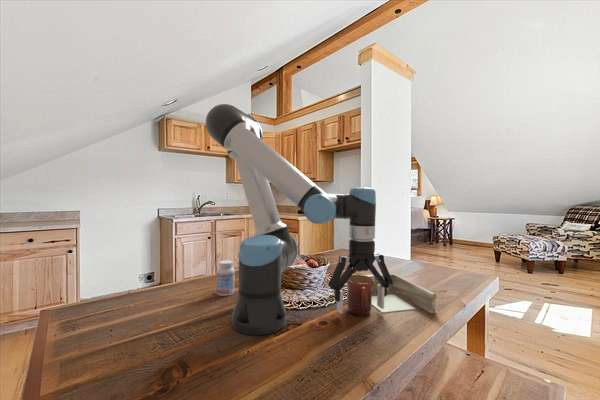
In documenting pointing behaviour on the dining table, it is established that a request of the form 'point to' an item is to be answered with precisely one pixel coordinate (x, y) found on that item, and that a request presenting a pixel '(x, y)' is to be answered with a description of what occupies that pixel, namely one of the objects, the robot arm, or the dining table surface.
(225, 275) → the pill bottle
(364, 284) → the mug
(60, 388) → the dining table surface
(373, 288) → the side wall
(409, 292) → the back wall
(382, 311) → the pad
